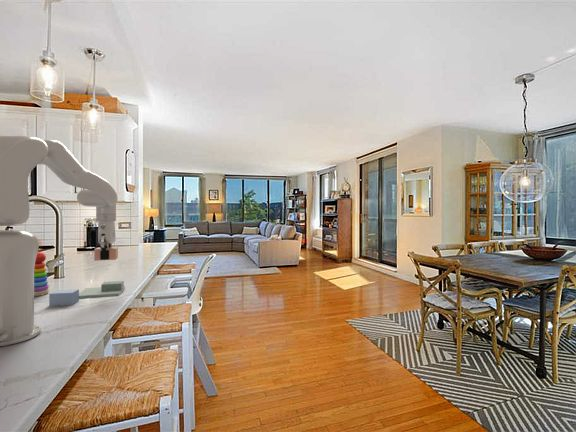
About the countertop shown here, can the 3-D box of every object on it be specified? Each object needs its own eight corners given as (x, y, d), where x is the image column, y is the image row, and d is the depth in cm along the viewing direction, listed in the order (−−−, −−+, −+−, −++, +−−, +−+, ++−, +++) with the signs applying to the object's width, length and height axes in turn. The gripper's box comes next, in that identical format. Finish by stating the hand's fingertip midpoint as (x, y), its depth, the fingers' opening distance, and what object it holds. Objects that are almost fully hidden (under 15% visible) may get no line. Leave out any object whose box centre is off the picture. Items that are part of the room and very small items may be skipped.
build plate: (118, 295, 126) (118, 286, 126) (75, 298, 121) (75, 289, 121) (124, 287, 139) (124, 279, 139) (86, 290, 133) (86, 281, 133)
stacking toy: (20, 297, 121) (20, 253, 121) (32, 292, 129) (32, 251, 129) (43, 296, 123) (43, 253, 123) (52, 291, 131) (52, 250, 131)
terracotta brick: (115, 259, 127) (115, 248, 127) (94, 260, 124) (94, 249, 124) (117, 257, 131) (117, 246, 131) (97, 258, 128) (97, 247, 128)
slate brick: (72, 305, 113) (72, 292, 113) (49, 306, 111) (49, 293, 111) (78, 301, 118) (78, 289, 118) (56, 302, 116) (56, 290, 116)
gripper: (111, 218, 120) (111, 261, 121) (120, 217, 136) (120, 254, 137) (90, 218, 118) (90, 262, 118) (101, 217, 134) (102, 255, 134)
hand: (106, 257), depth 128 cm, fingers closed on terracotta brick, 5 cm apart
